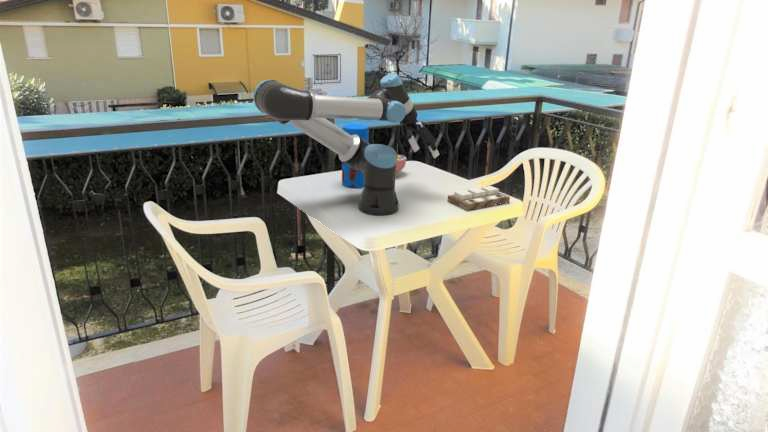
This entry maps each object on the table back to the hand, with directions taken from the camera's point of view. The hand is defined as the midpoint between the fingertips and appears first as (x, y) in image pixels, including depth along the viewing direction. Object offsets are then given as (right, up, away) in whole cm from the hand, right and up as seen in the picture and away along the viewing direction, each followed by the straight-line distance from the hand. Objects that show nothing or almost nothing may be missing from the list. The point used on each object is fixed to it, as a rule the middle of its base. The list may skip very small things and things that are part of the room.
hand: (426, 153), depth 218 cm
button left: (+13, -19, -10) cm, 26 cm away
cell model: (-17, -7, +25) cm, 31 cm away
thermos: (-30, -13, +8) cm, 34 cm away
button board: (+20, -20, -7) cm, 30 cm away
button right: (+25, -17, -3) cm, 31 cm away
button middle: (+19, -18, -7) cm, 27 cm away
